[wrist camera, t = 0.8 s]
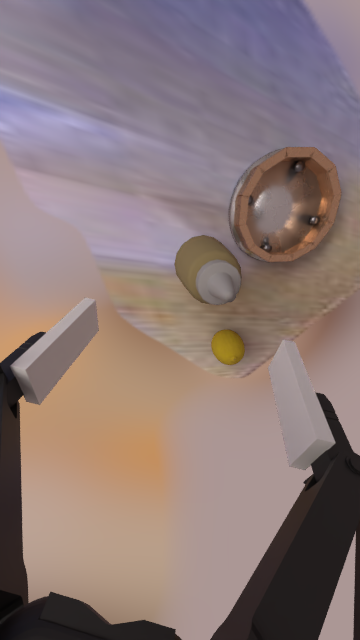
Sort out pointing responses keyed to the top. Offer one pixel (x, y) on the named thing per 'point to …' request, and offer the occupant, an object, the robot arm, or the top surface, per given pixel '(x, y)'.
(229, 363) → the lemon
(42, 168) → the top surface
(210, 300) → the squeeze bottle
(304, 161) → the flange seat
